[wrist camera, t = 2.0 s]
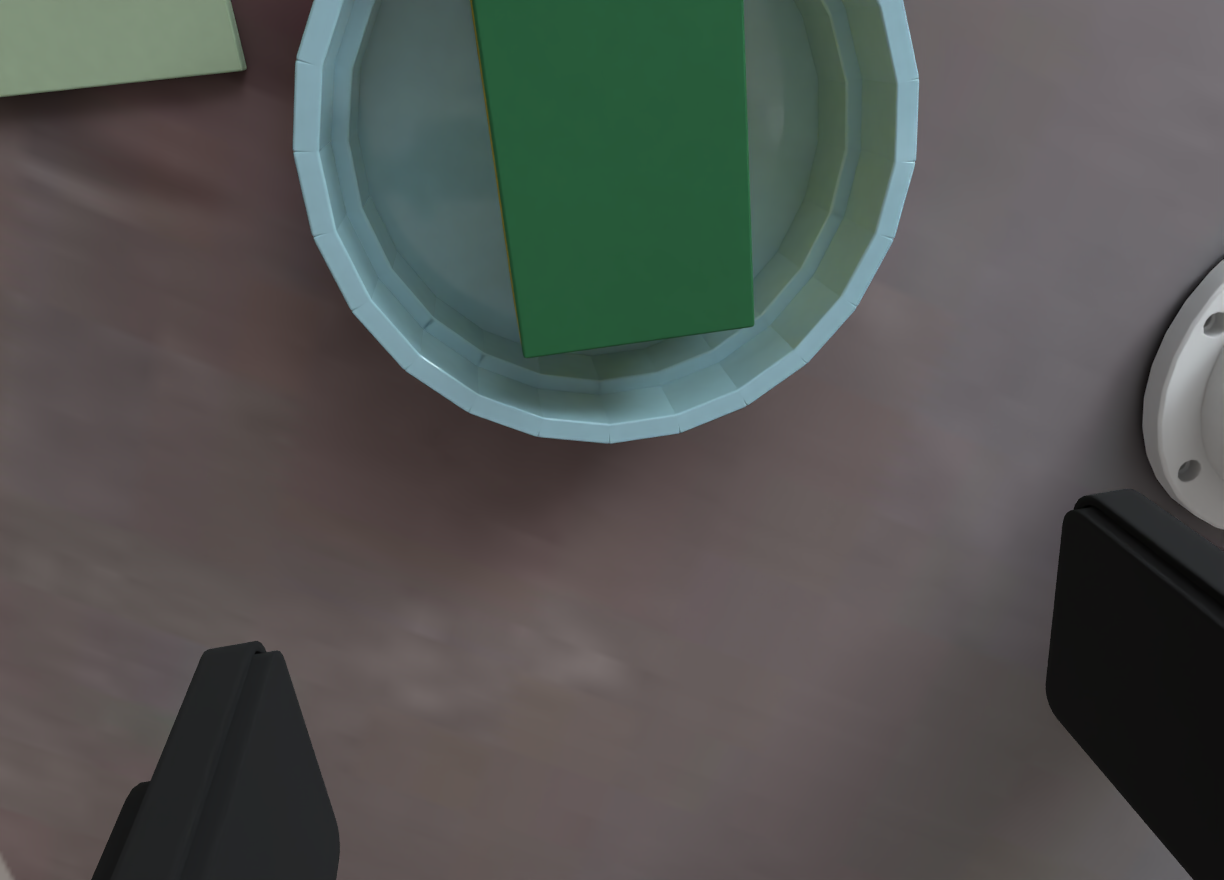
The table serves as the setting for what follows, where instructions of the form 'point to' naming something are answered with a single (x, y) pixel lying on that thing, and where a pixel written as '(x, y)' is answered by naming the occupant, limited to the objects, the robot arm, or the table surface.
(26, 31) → the mat
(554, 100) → the sponge
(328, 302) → the table surface
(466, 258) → the bowl
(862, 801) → the table surface
